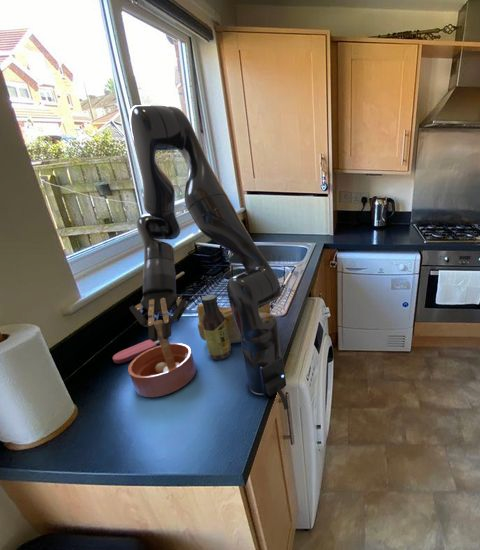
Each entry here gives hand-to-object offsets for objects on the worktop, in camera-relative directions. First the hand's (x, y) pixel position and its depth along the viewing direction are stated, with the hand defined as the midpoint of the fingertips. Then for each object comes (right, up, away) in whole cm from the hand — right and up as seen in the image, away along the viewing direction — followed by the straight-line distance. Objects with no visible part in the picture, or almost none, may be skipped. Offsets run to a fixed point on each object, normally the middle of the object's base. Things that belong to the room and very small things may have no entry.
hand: (160, 339), depth 79 cm
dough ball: (-5, -10, +8) cm, 13 cm away
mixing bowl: (-2, -12, +6) cm, 14 cm away
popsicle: (-18, -8, +18) cm, 26 cm away
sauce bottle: (+8, -8, +17) cm, 20 cm away
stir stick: (-1, -10, +7) cm, 12 cm away
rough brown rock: (+11, -4, +27) cm, 29 cm away
